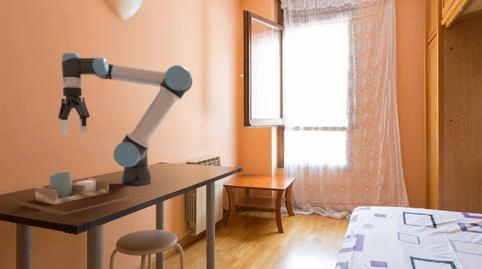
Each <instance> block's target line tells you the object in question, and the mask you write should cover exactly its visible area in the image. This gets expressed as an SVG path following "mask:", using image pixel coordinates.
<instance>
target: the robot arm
mask: <svg viewBox="0 0 482 269" xmlns="http://www.w3.org/2000/svg"><path fill="white" fill-rule="evenodd" d="M61 72H62V73H61V74H62V86H63V88H62V93H63V95H62V96H64V97H65V98H62V99H61V104H60V108H59V112H58V116H57V117H58V119H59V120H61V129H62V130H61V133H62V134H65V135H66V134H67V135H68V134H69V133H70V131H69V130H70V129H69V126H70V125H69V116H70V112H71V111H72V109H75V112H76V113H77V115H78V116H79V120H78V122H79V134H80V135H83V134H88V133H87V132H88V131H87V125H88V124H87V119H88V118H90V117H91V116H90V114H89V109H88V108H87V104H86V102H85V100H86V99H85V97H83V96H82V95H83V94H82V92H83V91H82V88H81V87H82V75H83V76H84V75H86V76H87V75H89V76H90V75H92V76H95V77H97V78H99V79H102V80H112V81H119V82H126V83H131V84H132V83H133V84H138V85H139V84H140V85H146V86H154V87H159V91H158V93H157V94H156V96H155V98H154V99H153V100H152V102H151V104H150V105H149V107H147V109H146V110H145V112H144V114H143V116H142V117H141V119H140V120H139V121H138V123H137V125H136V126H135V128H134V129H133V131H132V132H128V133H126V135H125V136H124V138H123V139H122V140H121V142H119V143H118V144H117V145H116V146H115V148H114V149H113V158H114V161H115V163H117V165H118V166H120V167H122V168H123V171H122V175H121V179H120V185H122V186H127V187H128V186H129V187H131V186H134V187H135V186H144V185H149V184H151V183H152V182H153V180H152V179H153V178H152V176H151V172H150V169H149V167H148V166H149V165H148V163H149V161H148V150H149V141H150V140H151V138H152V137H153V135H155V133H156V131H157V129H158V128H159V126H160V125H161V123H162V122H163V121H164V119H165V117H166V116H167V114H168V113H169V111H171V108H172V107H173V105H174V104H175V102H176V101H179V100H181V99H182V97H184V95H185V93H186V92H188V91H190V89H191V88H192V86H193V77H192V74H191V71H190V70H189V69H187V68H186V67H184V66H183V65H177V64H176V65H172V66H170V67H169V68H168V69H167V70H166V71H164V72H163V71H157V70H150V69H144V68H137V67H132V66H131V67H130V66H125V65H124V66H123V65H119V64H118V65H117V64H110V63H109V62H108V60H107V59H106V58H103V57H81V55H80V54H78V53H76V52H64V53H63V54H62V55H61Z"/></svg>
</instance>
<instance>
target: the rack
mask: <svg viewBox="0 0 482 269" xmlns="http://www.w3.org/2000/svg"><path fill="white" fill-rule="evenodd" d="M86 180H95V181H96V191H94V192H89V193H85V185H80V184H76V183H74V182H72V192H71V195H70V197H65V198H60V199H58V190H53V189H50V188H49V187H48V188H47V187H42V186H35V188H34V189H35V193H34V194H35V201H37V202H43V203H47V204H52V205H58V204H64V203H68V202H72V201H77V200H81V199H86V198H91V197H95V196H100V195H104V194H110V181H109V180H106V179H105V180H104V179H97V178H91V177H90V178H86Z"/></svg>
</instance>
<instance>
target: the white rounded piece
mask: <svg viewBox="0 0 482 269" xmlns="http://www.w3.org/2000/svg"><path fill="white" fill-rule="evenodd" d="M75 184H80V185H85V193H89V192H94V191H96V181H95V180H87V179H86V180H79V181H76V182H75Z"/></svg>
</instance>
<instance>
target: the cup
mask: <svg viewBox="0 0 482 269" xmlns="http://www.w3.org/2000/svg"><path fill="white" fill-rule="evenodd" d="M72 175H73V174H72V172H70V171H68V172H67V171H65V172H54V173H53V172H52V173H49V175H48V181H49V182H48V183H49V189H53V190H58V199H60V198H65V197H70V195H71V192H72V183H73V176H72Z"/></svg>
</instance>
